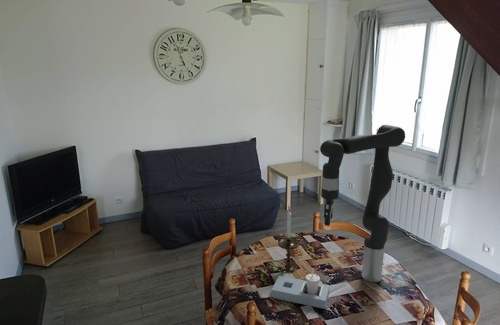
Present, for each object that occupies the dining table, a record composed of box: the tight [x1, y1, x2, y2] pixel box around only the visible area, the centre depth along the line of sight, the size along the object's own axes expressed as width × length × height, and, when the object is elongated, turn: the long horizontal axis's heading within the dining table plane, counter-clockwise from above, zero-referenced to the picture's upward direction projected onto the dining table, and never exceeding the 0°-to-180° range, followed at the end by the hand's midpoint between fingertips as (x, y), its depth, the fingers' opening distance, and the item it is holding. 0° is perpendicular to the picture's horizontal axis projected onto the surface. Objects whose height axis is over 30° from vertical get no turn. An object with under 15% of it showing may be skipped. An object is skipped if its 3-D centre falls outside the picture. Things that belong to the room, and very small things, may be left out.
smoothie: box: [305, 267, 321, 296], centre depth 154 cm, size 6×6×14 cm
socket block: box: [271, 275, 331, 310], centre depth 156 cm, size 12×24×4 cm, turn 70°
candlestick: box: [277, 205, 300, 273], centre depth 175 cm, size 11×11×35 cm
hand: (328, 221), depth 152 cm, fingers open, 8 cm apart
